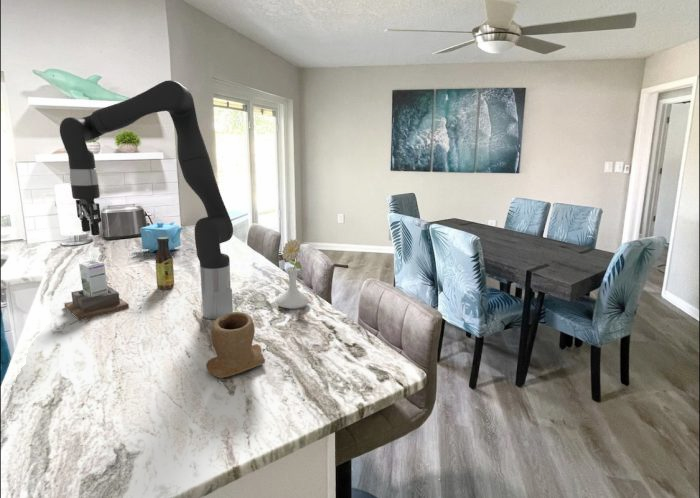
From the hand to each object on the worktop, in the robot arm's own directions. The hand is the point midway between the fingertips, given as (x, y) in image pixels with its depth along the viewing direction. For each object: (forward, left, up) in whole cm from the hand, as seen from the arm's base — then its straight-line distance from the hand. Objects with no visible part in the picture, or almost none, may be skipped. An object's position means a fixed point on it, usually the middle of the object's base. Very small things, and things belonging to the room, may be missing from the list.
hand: (91, 233), depth 141 cm
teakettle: (+60, -50, -26) cm, 82 cm away
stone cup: (-67, -10, -26) cm, 73 cm away
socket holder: (+1, +1, -26) cm, 26 cm away
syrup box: (0, +1, -25) cm, 25 cm away
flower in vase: (-44, -48, -26) cm, 71 cm away
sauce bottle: (+5, -25, -26) cm, 37 cm away
